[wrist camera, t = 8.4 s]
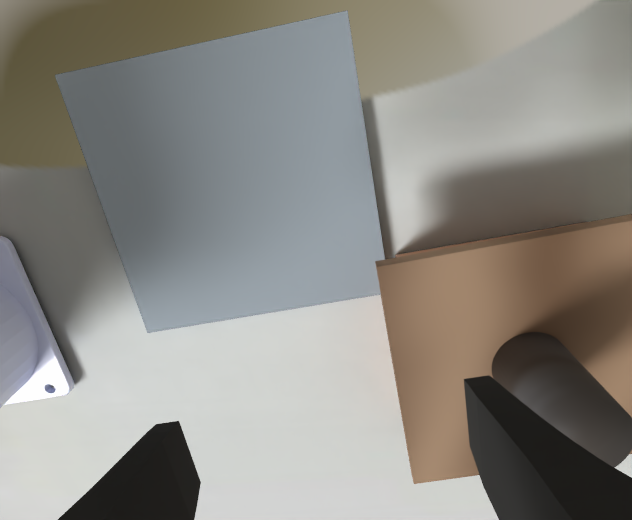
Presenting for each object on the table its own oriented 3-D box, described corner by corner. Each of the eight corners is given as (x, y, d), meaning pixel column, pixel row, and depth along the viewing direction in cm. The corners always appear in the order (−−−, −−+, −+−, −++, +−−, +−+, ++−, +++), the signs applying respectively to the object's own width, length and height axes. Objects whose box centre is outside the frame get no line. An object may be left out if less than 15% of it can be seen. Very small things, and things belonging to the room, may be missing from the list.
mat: (151, 327, 21) (147, 333, 20) (62, 75, 17) (54, 75, 17) (388, 288, 20) (389, 292, 20) (346, 12, 16) (347, 10, 16)
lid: (411, 472, 20) (435, 578, 15) (374, 261, 16) (392, 320, 12) (651, 438, 19) (748, 541, 15) (664, 207, 16) (795, 251, 11)
